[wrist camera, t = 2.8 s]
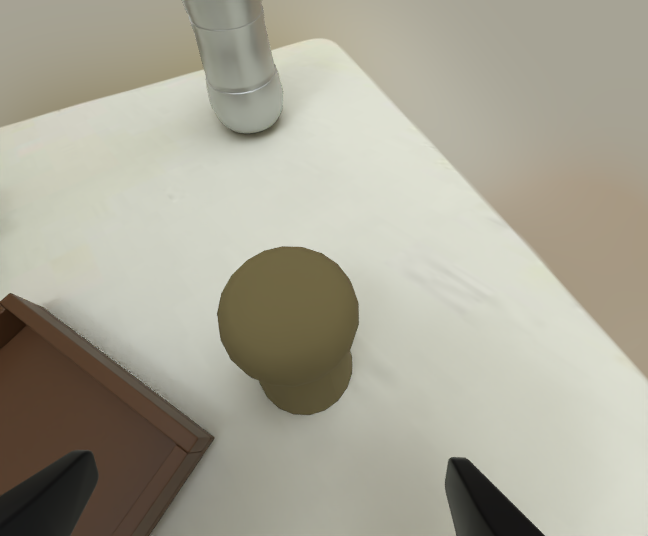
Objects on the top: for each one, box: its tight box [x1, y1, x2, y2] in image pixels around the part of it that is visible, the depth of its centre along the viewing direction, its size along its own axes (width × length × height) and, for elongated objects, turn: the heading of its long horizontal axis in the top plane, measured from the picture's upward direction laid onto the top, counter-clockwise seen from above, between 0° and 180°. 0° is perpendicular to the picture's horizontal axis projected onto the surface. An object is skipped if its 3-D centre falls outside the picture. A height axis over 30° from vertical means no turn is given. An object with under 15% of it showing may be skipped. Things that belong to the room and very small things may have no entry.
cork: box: [217, 247, 359, 415], centre depth 15 cm, size 6×6×11 cm
